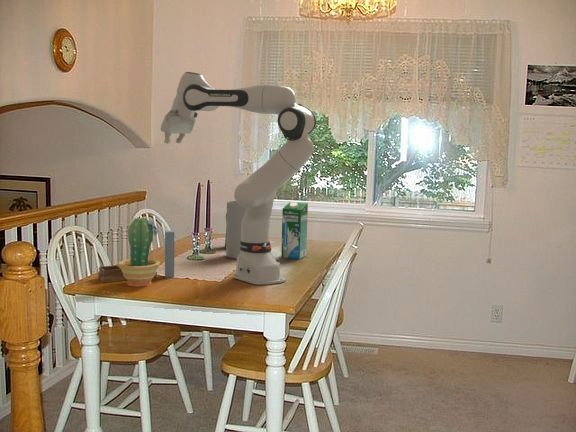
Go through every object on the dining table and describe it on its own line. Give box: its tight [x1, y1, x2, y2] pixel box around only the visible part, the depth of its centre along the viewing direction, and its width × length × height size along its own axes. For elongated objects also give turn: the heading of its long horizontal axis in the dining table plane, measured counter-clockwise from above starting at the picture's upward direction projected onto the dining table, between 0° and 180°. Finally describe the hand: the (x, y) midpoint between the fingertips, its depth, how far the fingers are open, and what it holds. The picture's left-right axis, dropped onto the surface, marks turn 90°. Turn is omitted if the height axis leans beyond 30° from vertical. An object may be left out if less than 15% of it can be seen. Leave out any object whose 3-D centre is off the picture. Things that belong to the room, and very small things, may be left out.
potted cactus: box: [117, 216, 161, 288], centre depth 247 cm, size 15×15×25 cm
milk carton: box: [280, 201, 309, 260], centre depth 306 cm, size 9×9×25 cm
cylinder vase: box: [225, 200, 246, 260], centre depth 303 cm, size 12×12×25 cm
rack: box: [97, 265, 158, 283], centre depth 257 cm, size 7×21×4 cm, turn 120°
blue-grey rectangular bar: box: [164, 230, 175, 278], centre depth 261 cm, size 4×4×18 cm
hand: (172, 143), depth 272 cm, fingers open, 8 cm apart
